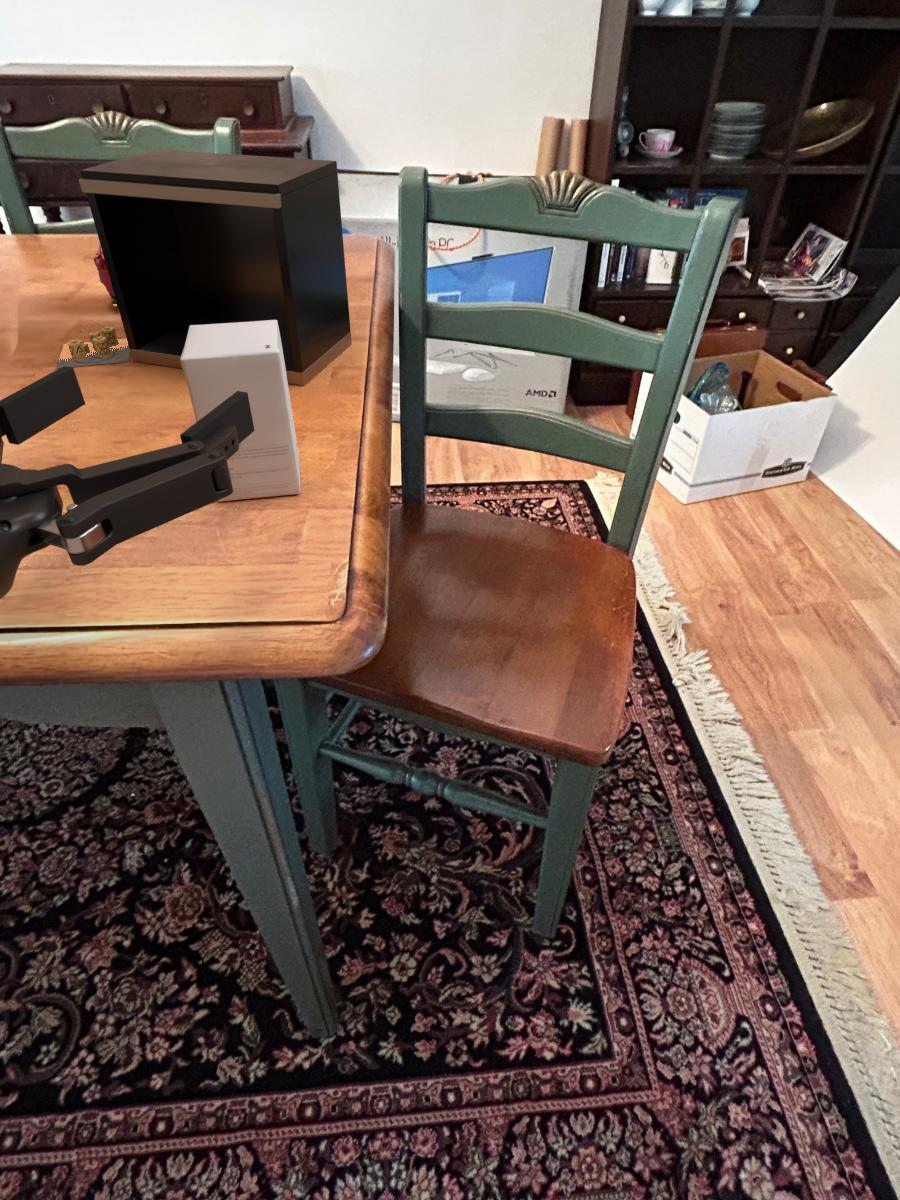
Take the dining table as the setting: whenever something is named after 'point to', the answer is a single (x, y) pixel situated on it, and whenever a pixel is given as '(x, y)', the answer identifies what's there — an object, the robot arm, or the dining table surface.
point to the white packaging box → (255, 366)
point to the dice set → (100, 346)
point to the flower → (104, 273)
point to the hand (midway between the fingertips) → (158, 397)
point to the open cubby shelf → (224, 251)
